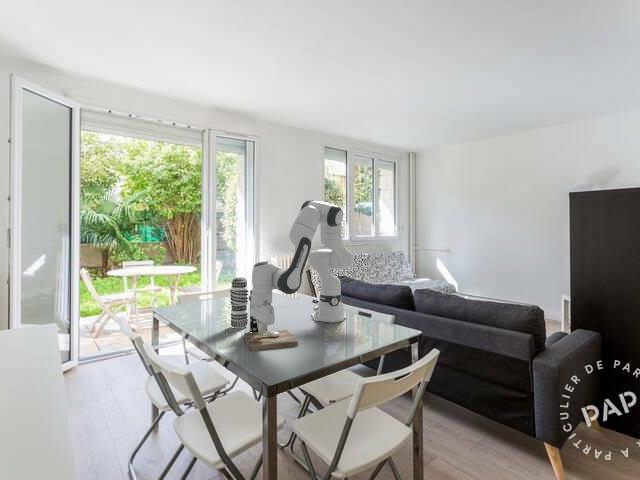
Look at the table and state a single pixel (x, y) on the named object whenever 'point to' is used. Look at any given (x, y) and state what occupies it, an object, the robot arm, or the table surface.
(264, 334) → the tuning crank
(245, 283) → the decorative candle
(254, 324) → the spotted tube
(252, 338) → the dial board
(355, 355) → the table surface
